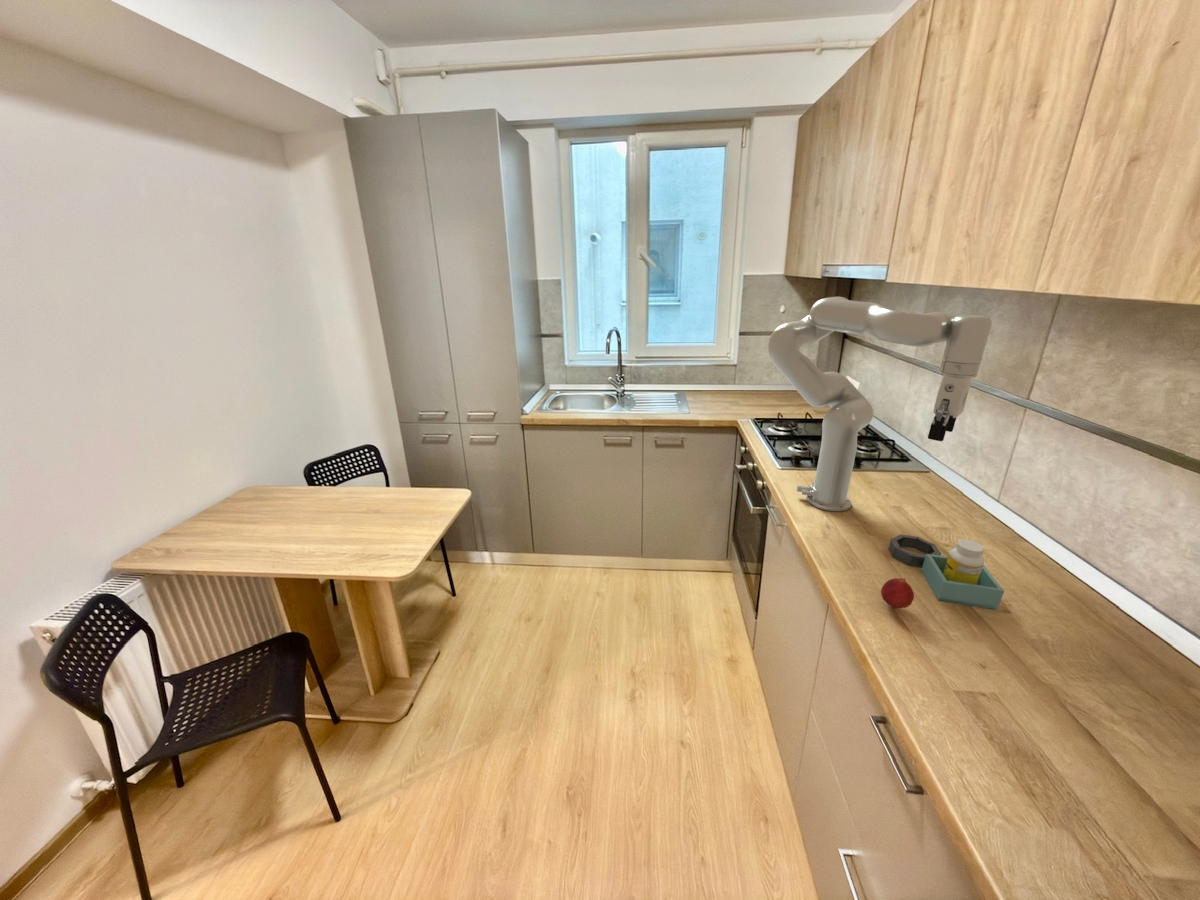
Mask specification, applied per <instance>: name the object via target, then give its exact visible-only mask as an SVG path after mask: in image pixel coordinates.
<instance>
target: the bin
mask: <svg viewBox="0 0 1200 900" xmlns="http://www.w3.org/2000/svg"><path fill="white" fill-rule="evenodd" d="M925 555H926V557H925V560H924V563H923V567H922V568H921V570H920V572H921V573H922V575H923V577H924V579H925V581H926V583H927V584H928V586H929V588H930V589H931V591H932V593H933V595H934V596H935V599H936V600H937V601H938V602H944V603H951V604H954V605H955V604H956V605H964V606H969V607H975V606H977V607H976V608H983V609H989V610H996V611H998V608H999V605H1000V603H1001V601H1002V598H1003V595H1004V593H1005V590H1004V589H1003V588H1002V586H1001V585H1000V584H999V582H998V581H997V580H996V579H995V577H994V576H993V575H992V574H991V572H990V571H989V570H988V568H987V567H986V566H985V565H983V568H982V571H981V573H980V576H979V579H978V582H977V585H974V584H967V583H960V582H953V581H947V580H946V578H945V577H944V575H943V572H944V569H945V566H946V563H947V559H948V556H946V555H945V556H944V555H941V556H939V555H932V554H925Z"/></svg>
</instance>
